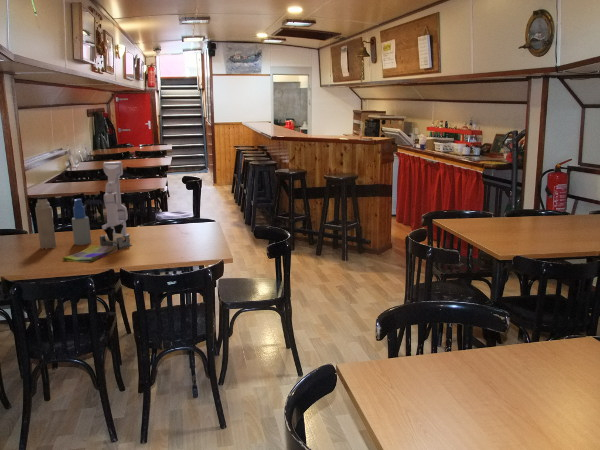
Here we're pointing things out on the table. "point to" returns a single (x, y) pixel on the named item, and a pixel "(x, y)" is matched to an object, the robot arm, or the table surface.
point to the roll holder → (119, 244)
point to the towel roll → (115, 237)
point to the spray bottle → (80, 224)
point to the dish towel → (91, 254)
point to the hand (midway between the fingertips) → (114, 239)
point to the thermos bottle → (45, 223)
